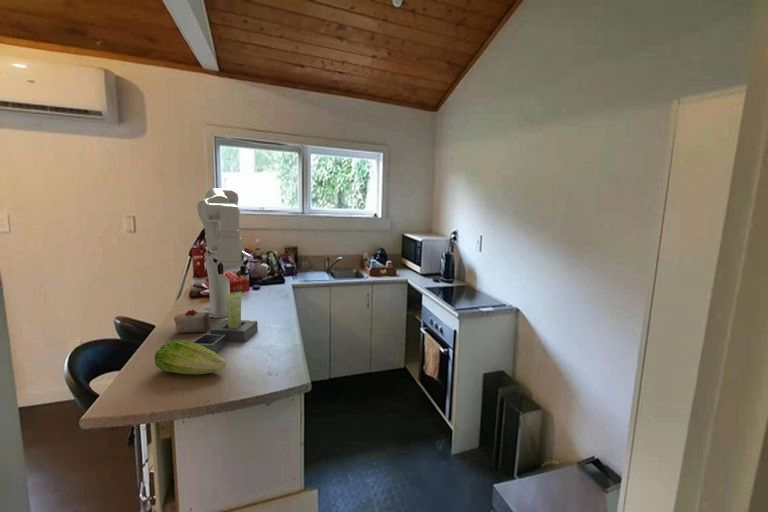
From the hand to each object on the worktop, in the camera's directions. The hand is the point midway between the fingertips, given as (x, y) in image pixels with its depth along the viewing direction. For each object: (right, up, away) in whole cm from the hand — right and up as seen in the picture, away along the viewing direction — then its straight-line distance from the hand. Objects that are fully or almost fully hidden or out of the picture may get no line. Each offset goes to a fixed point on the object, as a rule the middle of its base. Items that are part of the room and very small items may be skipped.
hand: (231, 274), depth 152 cm
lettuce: (-1, -33, -28) cm, 43 cm away
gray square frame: (-5, -29, -9) cm, 31 cm away
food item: (-22, -26, +9) cm, 35 cm away
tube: (0, -28, +4) cm, 28 cm away
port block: (0, -27, +4) cm, 28 cm away
